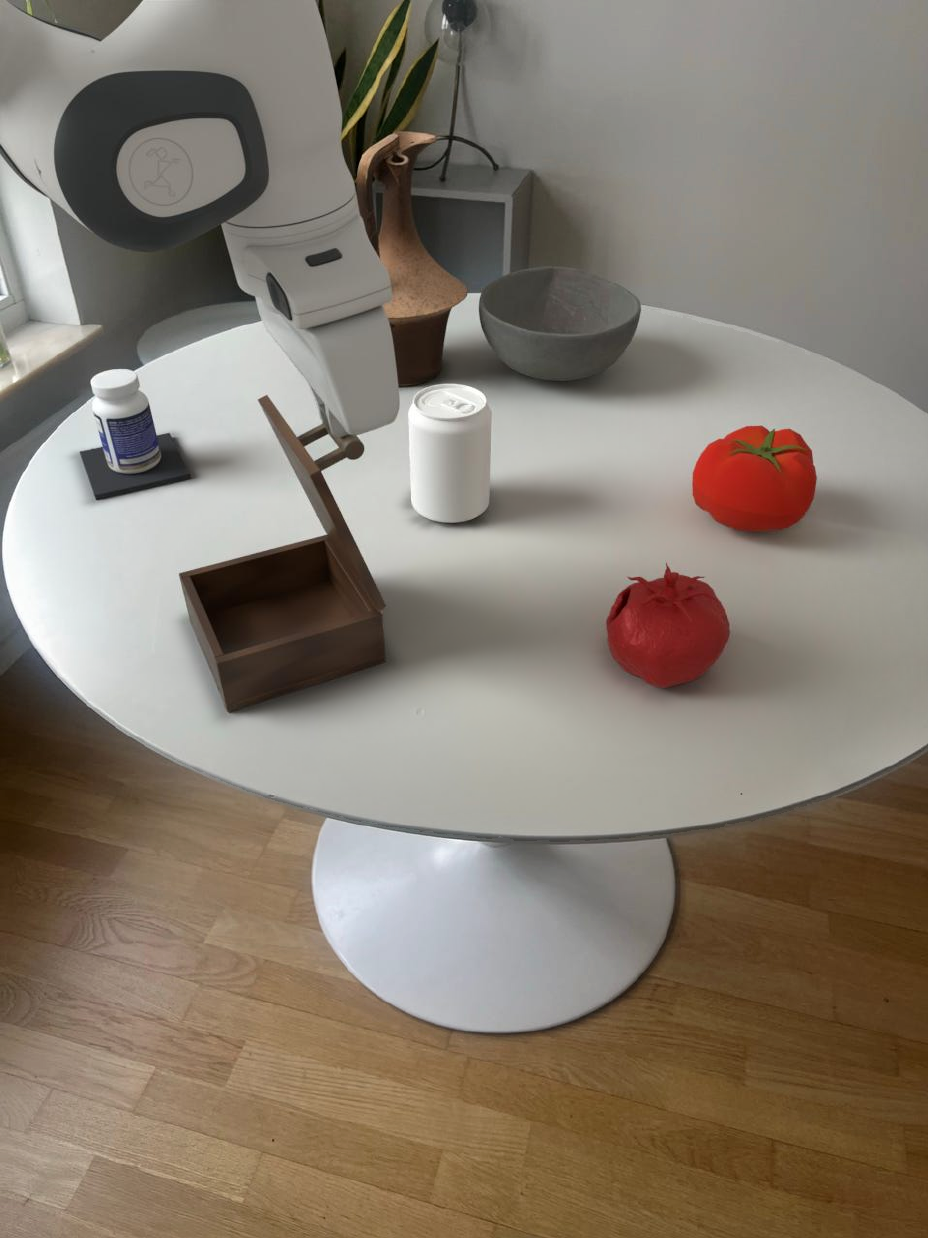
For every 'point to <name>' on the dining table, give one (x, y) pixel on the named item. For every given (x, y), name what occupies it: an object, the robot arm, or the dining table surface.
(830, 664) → the dining table surface
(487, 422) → the beverage can
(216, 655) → the chest
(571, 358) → the bowl
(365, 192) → the pitcher
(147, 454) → the pill bottle
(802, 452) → the tomato
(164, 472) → the mat
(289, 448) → the chest lid
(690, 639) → the red crowned fruit
